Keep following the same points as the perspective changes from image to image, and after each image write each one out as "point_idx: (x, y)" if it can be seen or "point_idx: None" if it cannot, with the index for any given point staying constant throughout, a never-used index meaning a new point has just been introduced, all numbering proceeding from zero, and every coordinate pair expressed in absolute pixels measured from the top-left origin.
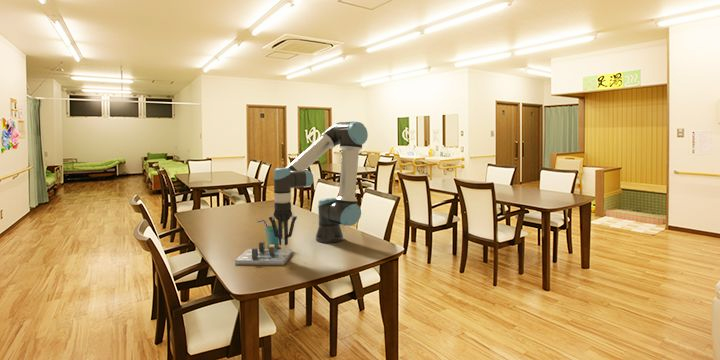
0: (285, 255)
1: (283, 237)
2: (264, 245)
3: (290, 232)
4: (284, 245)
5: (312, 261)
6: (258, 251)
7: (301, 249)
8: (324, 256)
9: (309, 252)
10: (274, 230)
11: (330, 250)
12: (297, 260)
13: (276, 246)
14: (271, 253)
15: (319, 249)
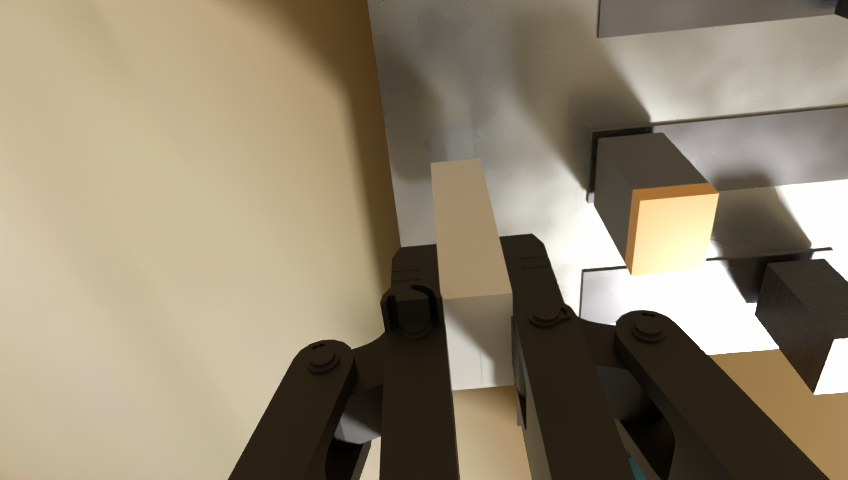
0: (420, 152)
1: (492, 380)
2: (783, 350)
3: (280, 432)
4: (435, 220)
5: (33, 106)
6: (828, 257)
7: (370, 453)
8: (12, 300)
9: (249, 391)
10: (751, 438)
11: (73, 461)
12: (251, 120)
13: (635, 470)
14: (634, 141)
15: (195, 471)
